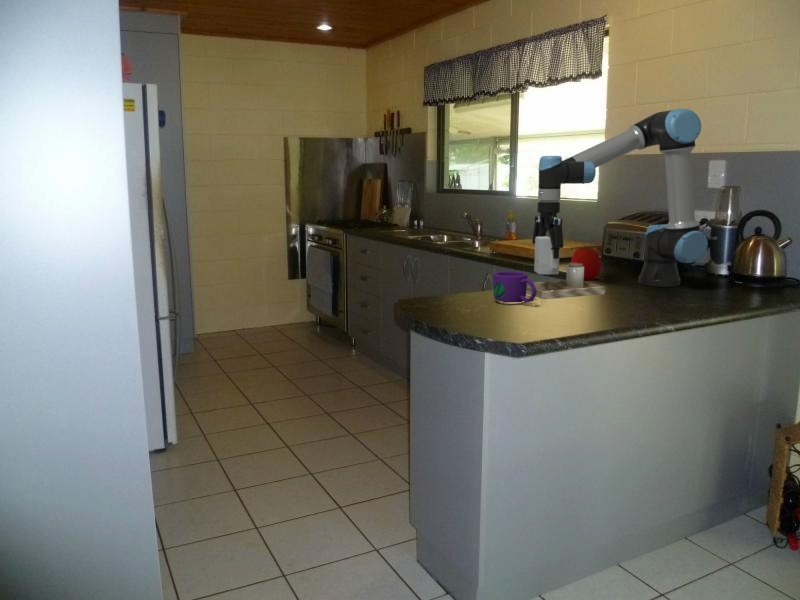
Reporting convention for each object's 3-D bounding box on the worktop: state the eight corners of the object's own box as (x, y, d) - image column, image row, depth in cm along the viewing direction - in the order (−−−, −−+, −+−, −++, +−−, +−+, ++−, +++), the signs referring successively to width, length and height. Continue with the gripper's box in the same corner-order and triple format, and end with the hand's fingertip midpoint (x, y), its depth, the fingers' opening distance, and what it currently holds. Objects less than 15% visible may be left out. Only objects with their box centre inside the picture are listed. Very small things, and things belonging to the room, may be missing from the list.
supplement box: (559, 274, 224) (560, 238, 221) (537, 274, 224) (539, 238, 222) (554, 271, 231) (555, 235, 229) (533, 271, 231) (534, 236, 229)
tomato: (590, 277, 267) (591, 243, 264) (606, 282, 256) (608, 246, 254) (563, 279, 263) (564, 245, 260) (579, 284, 253) (581, 248, 250)
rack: (575, 288, 244) (575, 279, 243) (604, 296, 227) (605, 287, 227) (516, 293, 235) (517, 283, 235) (543, 302, 219) (543, 292, 218)
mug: (485, 301, 221) (486, 273, 219) (509, 297, 228) (509, 269, 226) (523, 310, 207) (524, 279, 205) (547, 305, 214) (548, 275, 212)
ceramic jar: (576, 289, 237) (577, 262, 235) (586, 291, 231) (587, 264, 229) (562, 290, 235) (563, 263, 233) (572, 293, 229) (573, 265, 227)
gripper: (523, 200, 231) (521, 262, 236) (557, 202, 212) (554, 271, 216) (541, 199, 234) (539, 261, 238) (576, 202, 214) (573, 269, 219)
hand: (546, 266), depth 227 cm, fingers closed on supplement box, 9 cm apart
